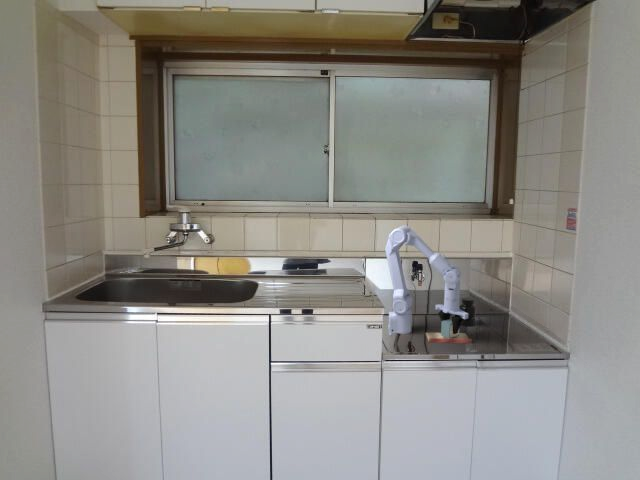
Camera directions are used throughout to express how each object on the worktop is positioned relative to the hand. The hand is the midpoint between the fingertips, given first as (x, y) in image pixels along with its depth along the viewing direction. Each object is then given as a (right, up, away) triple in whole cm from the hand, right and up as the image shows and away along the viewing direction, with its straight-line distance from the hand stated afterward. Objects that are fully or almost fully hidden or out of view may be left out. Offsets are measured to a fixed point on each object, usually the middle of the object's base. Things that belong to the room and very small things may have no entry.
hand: (450, 331), depth 176 cm
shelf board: (-1, -4, +1) cm, 4 cm away
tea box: (0, -2, 0) cm, 2 cm away
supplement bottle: (+11, -1, +16) cm, 19 cm away
